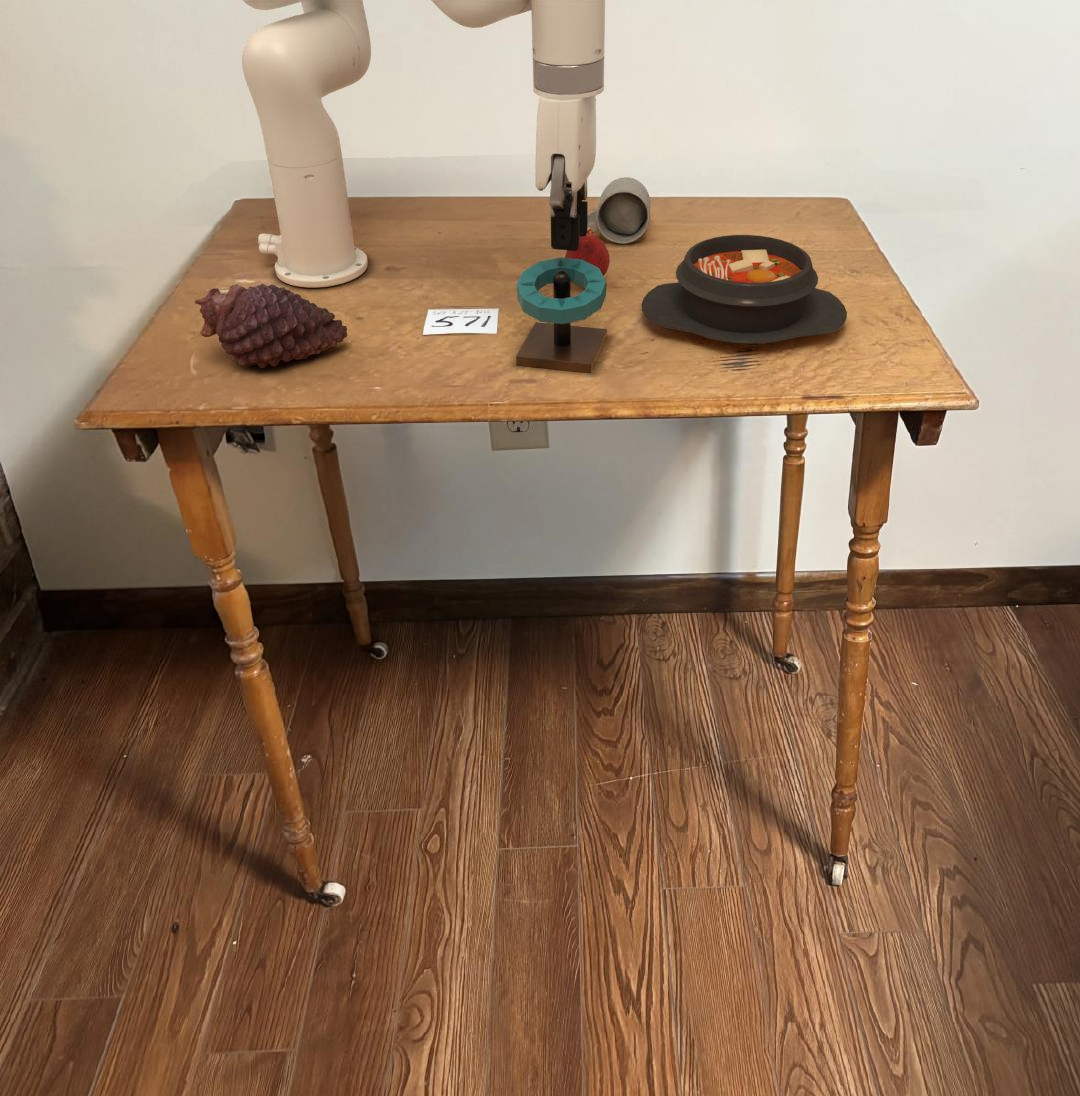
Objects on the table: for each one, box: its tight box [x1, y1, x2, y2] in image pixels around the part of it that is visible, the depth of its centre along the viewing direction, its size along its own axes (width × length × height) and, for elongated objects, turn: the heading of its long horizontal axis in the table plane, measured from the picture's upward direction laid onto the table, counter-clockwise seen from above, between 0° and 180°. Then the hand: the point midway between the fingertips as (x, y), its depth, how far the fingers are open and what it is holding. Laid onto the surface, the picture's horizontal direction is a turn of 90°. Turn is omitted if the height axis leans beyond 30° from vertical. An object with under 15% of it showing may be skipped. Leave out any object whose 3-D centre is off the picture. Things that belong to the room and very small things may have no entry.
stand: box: [515, 270, 608, 374], centre depth 128 cm, size 9×9×10 cm
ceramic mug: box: [588, 176, 651, 245], centre depth 157 cm, size 11×8×8 cm
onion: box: [564, 227, 611, 277], centre depth 143 cm, size 6×6×8 cm
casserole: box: [641, 234, 848, 345], centre depth 134 cm, size 25×19×8 cm
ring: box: [516, 256, 607, 324], centre depth 127 cm, size 10×10×2 cm
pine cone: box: [194, 283, 348, 369], centre depth 129 cm, size 18×10×10 cm
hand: (569, 240), depth 127 cm, fingers open, 3 cm apart
